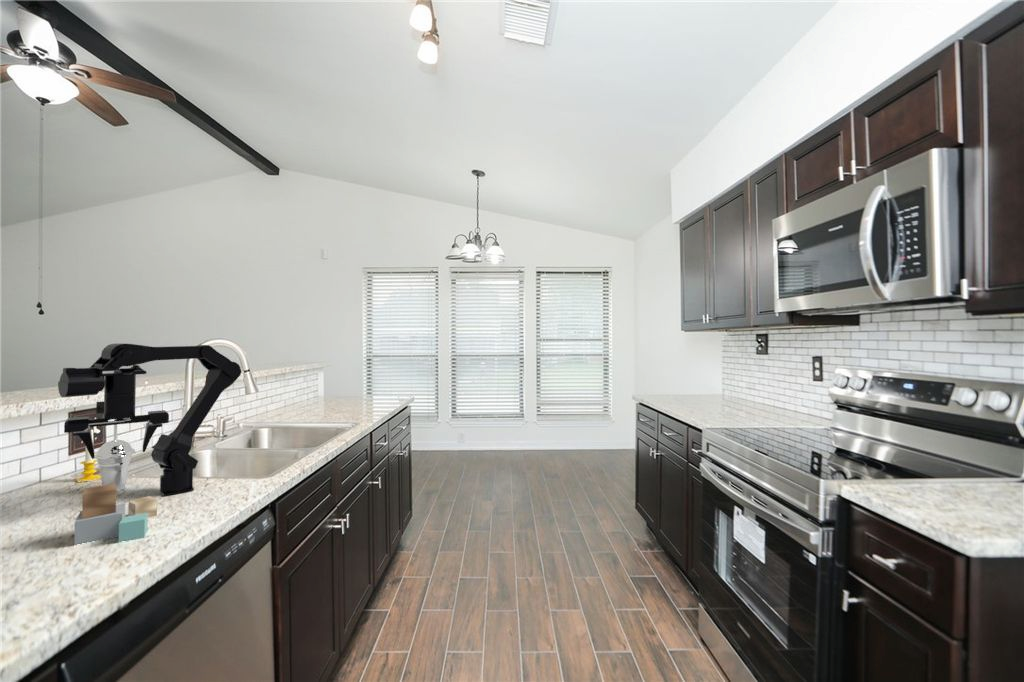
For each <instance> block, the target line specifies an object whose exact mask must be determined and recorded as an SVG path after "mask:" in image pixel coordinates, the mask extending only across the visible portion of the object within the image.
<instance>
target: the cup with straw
mask: <svg viewBox="0 0 1024 682" xmlns="http://www.w3.org/2000/svg"><path fill="white" fill-rule="evenodd" d="M123 419H126V418H123ZM134 454H136V449H135V448H132V446H131V443H129V442H127V441H125V440H122V439H118V424H117V425H113V440H109V441H107V442H105V443H103V444H102V445H101V446H100V447H99V449H98V450H97V452H95V453H94V459H93V460H97V462H96V463H97V464H98V467H99V473H100V476H101V478H100V481H101V486H103V485H109V484H115V483H116V492H118V490H120V491H123V490H124V488H125V489H126V484H127V480H128V475H129V468H130V463H131V459H132V455H134ZM122 489H123V490H122Z"/></svg>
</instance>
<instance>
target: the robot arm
mask: <svg viewBox="0 0 1024 682" xmlns="http://www.w3.org/2000/svg"><path fill="white" fill-rule="evenodd" d="M191 359H192V360H193V359H197V360H198V361H199V363H200V364H201V365H202V366H203V367H204V368H205V369H206V370H208V372H207V373H206V375H205V384H204V387H202V389H201V390H200V392H199V393H198V395H197V397H196V398H195V399H194V401H193V403H192V404H191V405H190V407H189V408H188V410H187V411H186V412H185V414H184V416H183V417H182V419H181V420H180V422H179V423H178V425H177V427H175V429H174V430H173V431H172V432H170V433H169V434H168V435H167V434H161V435H159V438H158V440H157V442H156V443H155V444H154V445H153V446H151V449H152V451H151V453H150V456H151V459H152V461H153V462H154V463H156V464H158V466H159V468H160V469H162V474H161V475H160V476H159V491H160V493H162V495H163V497H165V496H171V495H177V494H181V493H187V492H193V491H194V490H195V488H194V483H193V481H194V478H193V476H194V473H193V472H194V470H195V469H196V467H197V465H198V463H199V460H198V459H197V458H196V457H195V458H194V457H193V456H191V455H190V452H191V450H192V447H193V439H194V436H195V434H196V433H197V431H198V430H199V428H200V426H201V425H202V424H203V422H204V421H205V419H206V418H207V415H208V414H209V413H210V411H211V409H212V408H213V407H214V405H215V403H216V402H217V400H218V399H219V397H220V396H221V394H222V393H223V392H224V391H225V390H226V389H228V388H229V387H230V386H232V385H233V384H234V383H235V382H236V381H237V380H238V379H239V377H240V376H241V375H242V369H241V366H240V364H238V363H237V362H235V361H232V360H231V359H229V358H228V357H227V356H225V355H224V354H222V353H220V352H218V351H217V350H216V349H215V348H213V347H212V346H211V345H209V344H208V345H207V344H197V345H184V346H183V345H181V346H180V345H179V346H177V345H176V346H149V345H142V344H141V345H140V344H135V343H119V342H118V343H109V344H108V345H107V346H105V347H104V348H103V349H102V351H101V355H100V356H99V357H98V359H96V360H95V361H94V363H92V364H91V365H90V366H89V367H78V368H77V367H63V369H62V373H61V375H60V377H59V380H58V381H57V389H58V393H59V395H60V397H62V398H72V397H73V398H74V397H85V396H97V395H98V394H99V392H102V391H103V390H104V395H103V396H104V400H103V401H96V408H95V409H96V411H95V413H96V414H95V415H96V416H103V418H92V419H91V418H90V416H79V417H78V416H77V417H68V418H67V419H66V420H65V421H64V425H63V427H64V428H63V432H64V434H65V433H66V434H69V433H72V436H74V437H76V436H78V437H79V438H80V439H81V441H82V443H83V444H84V446H85V448H86V447H87V449H88V452H89V454H90V456H91V458H92V459H93V460H95V459H94V454H95V448H94V447H95V446H94V439H93V440H92V434H91V430H92V428H93V427H94V428H95V427H105V426H114V425H117V426H118V425H124V424H125V425H126V424H137V423H145V430H144V437H143V440H142V452H143V453H145V452H146V451H147V447H148V445H149V443H150V441H151V439H152V437H153V436H154V434H155V432H156V431H157V429H158V428H160V427H161V428H162V427H163V424H168V423H170V416H169V413H168V411H166V410H163V409H162V410H151V411H147V414H140V415H136V396H137V395H136V391H137V390H136V387H137V386H136V385H137V379H136V377H137V375H147V371H146V370H144V369H143V368H141V366H140V365H141V364H146V363H151V362H156V361H169V360H170V361H172V360H174V361H175V360H191ZM123 367H126V368H123ZM127 367H129V368H127ZM103 372H104V373H103ZM123 418H126V419H123ZM112 420H113V421H112Z"/></svg>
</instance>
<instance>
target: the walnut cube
mask: <svg viewBox="0 0 1024 682" xmlns="http://www.w3.org/2000/svg"><path fill="white" fill-rule="evenodd" d="M81 502H82V503H81V504H82V505H81V506H82V510H81V511H82V519H86V518H91V517H95V516H100V515H105V514H110V513H115V512H116V505H117V491H116V483H115V484H109V485H103V486H102V485H99V486H98V485H97V486H92V487H85V488H83V489H82V501H81Z"/></svg>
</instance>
